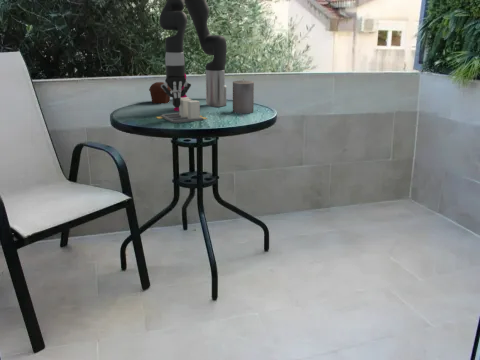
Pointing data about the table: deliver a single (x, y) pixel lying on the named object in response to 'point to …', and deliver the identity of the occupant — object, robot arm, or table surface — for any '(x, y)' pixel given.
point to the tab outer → (193, 109)
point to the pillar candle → (243, 96)
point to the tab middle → (184, 107)
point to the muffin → (159, 93)
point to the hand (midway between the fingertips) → (176, 106)
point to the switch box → (178, 118)
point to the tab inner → (179, 106)
